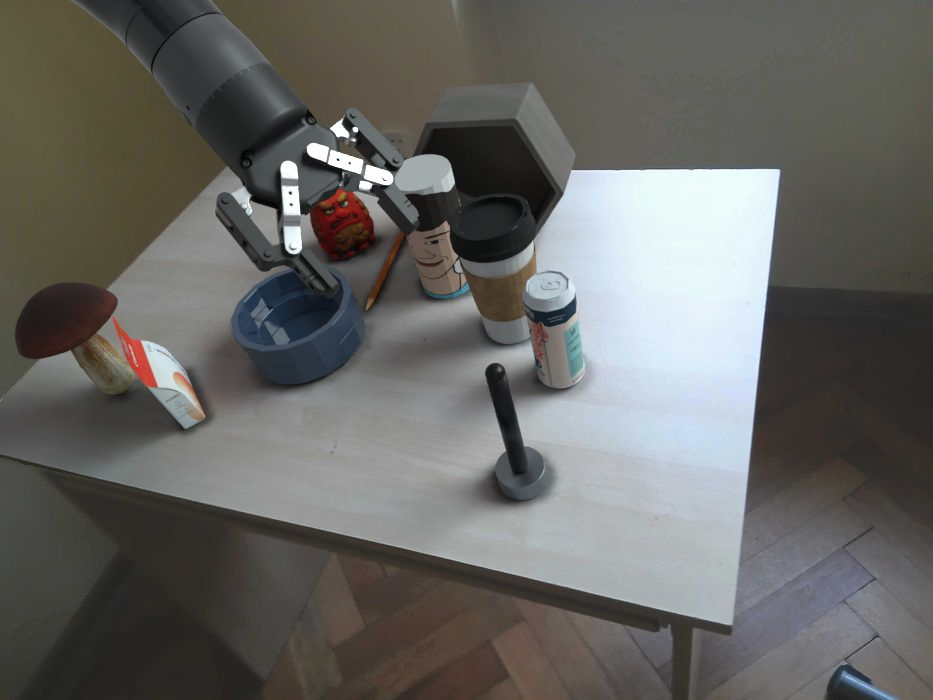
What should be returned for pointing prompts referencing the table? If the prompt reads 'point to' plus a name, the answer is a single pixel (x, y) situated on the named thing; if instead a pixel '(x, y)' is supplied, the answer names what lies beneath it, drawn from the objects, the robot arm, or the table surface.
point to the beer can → (554, 328)
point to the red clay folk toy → (342, 225)
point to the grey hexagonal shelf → (501, 144)
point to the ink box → (162, 378)
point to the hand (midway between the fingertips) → (376, 260)
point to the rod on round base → (513, 443)
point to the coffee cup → (497, 260)
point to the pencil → (385, 269)
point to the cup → (433, 223)
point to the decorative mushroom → (74, 332)
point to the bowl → (297, 328)
